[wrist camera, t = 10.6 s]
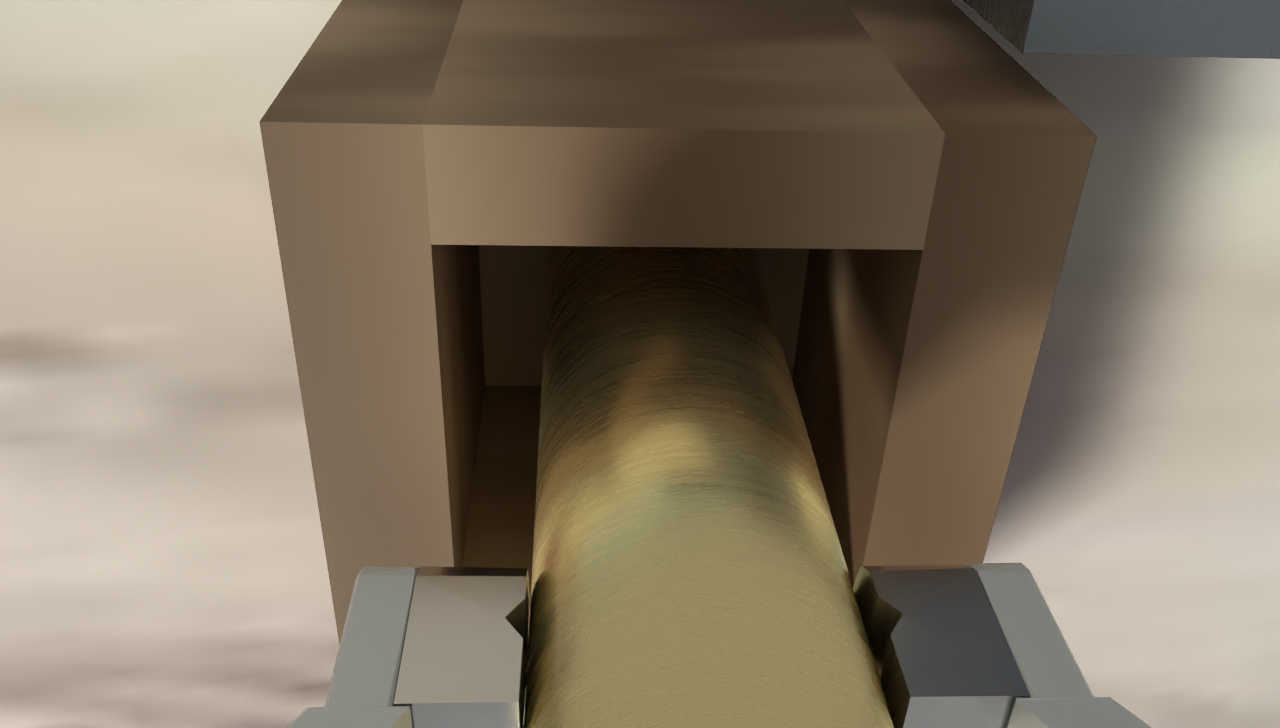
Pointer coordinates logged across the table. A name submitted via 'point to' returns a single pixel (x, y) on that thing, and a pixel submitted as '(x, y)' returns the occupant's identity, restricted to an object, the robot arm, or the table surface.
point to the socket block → (1138, 26)
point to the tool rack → (663, 245)
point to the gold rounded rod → (682, 510)
